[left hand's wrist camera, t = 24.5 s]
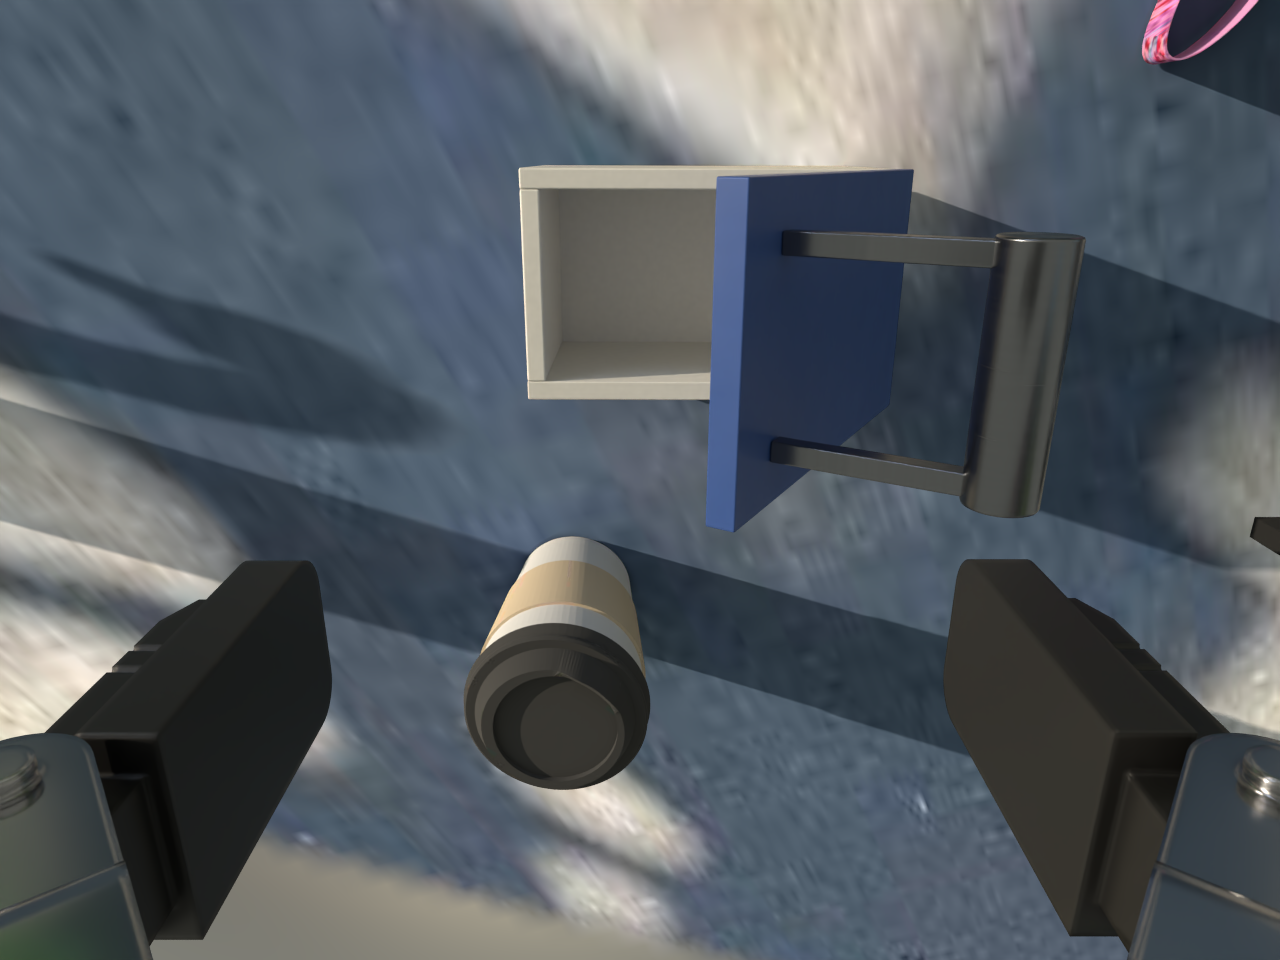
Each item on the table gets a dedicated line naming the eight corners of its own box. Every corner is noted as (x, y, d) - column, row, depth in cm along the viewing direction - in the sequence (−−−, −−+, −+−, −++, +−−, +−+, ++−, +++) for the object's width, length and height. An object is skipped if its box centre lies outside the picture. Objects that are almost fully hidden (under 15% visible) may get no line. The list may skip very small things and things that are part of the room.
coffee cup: (588, 675, 57) (572, 846, 43) (473, 597, 55) (415, 750, 41) (677, 576, 54) (691, 723, 40) (559, 490, 52) (530, 614, 38)
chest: (549, 353, 50) (528, 399, 40) (543, 165, 46) (518, 167, 37) (831, 354, 50) (876, 400, 40) (846, 166, 46) (898, 169, 37)
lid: (705, 526, 27) (1015, 597, 22) (715, 176, 23) (1085, 182, 19) (868, 402, 40) (1080, 431, 36) (890, 169, 37) (1128, 171, 32)
